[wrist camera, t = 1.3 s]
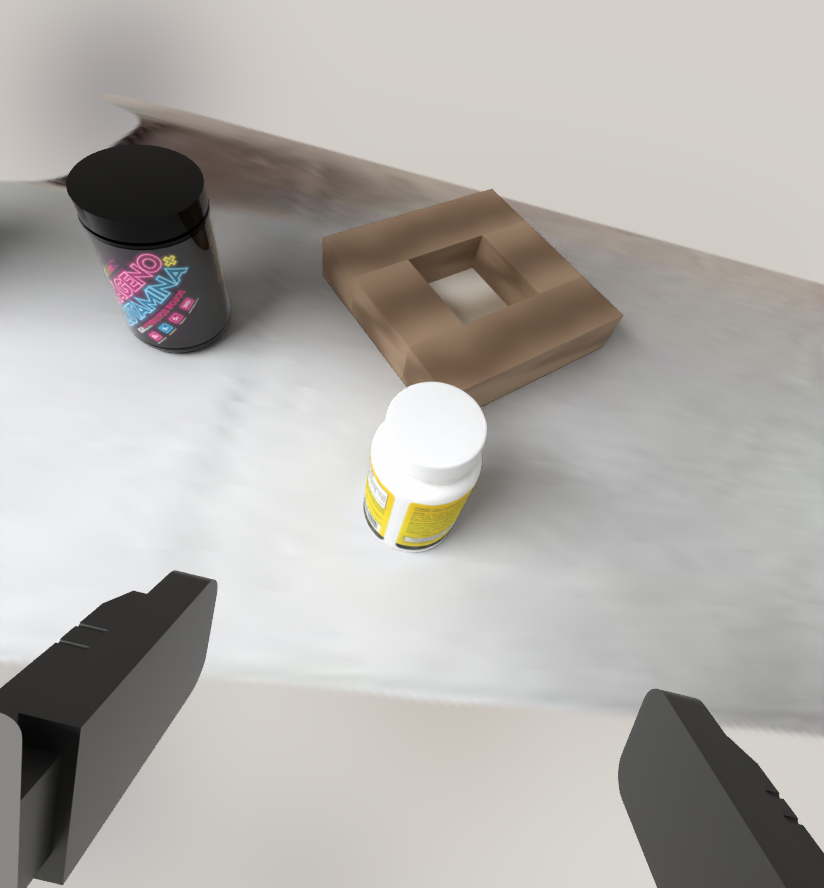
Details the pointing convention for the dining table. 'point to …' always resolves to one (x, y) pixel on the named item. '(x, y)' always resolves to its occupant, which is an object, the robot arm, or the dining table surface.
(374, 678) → the dining table surface
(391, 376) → the dining table surface
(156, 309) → the supplement container
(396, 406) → the supplement bottle
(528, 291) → the walnut pocket block
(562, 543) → the dining table surface
